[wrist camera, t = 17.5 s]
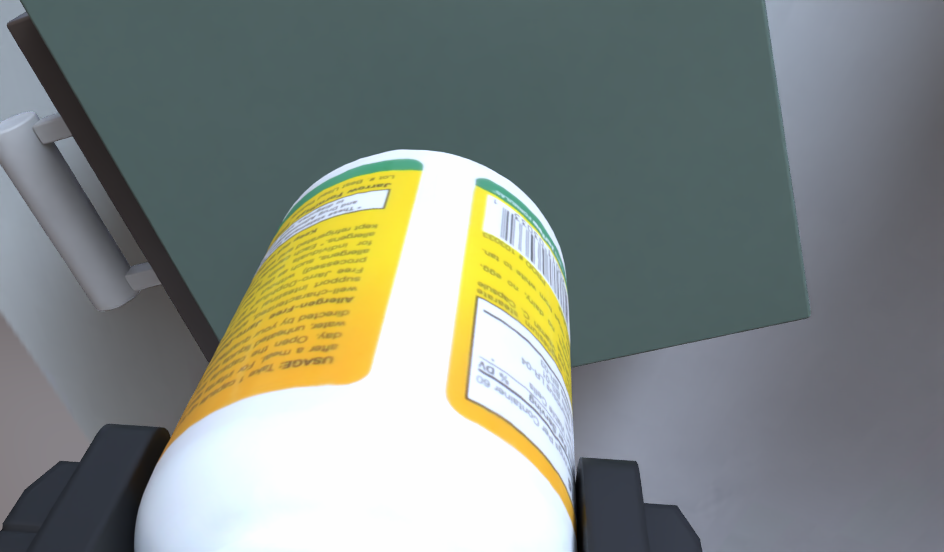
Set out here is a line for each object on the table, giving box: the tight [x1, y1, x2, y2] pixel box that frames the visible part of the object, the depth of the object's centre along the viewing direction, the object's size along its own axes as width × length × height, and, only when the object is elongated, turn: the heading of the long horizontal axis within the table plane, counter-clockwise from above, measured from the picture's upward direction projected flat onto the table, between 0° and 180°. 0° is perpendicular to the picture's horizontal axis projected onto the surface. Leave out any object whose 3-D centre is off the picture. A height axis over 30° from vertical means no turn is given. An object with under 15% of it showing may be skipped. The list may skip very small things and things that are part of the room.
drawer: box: [0, 12, 220, 363], centre depth 25 cm, size 18×11×8 cm, turn 108°
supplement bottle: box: [134, 149, 578, 552], centre depth 12 cm, size 5×5×10 cm
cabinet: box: [20, 0, 811, 368], centre depth 24 cm, size 15×13×10 cm
